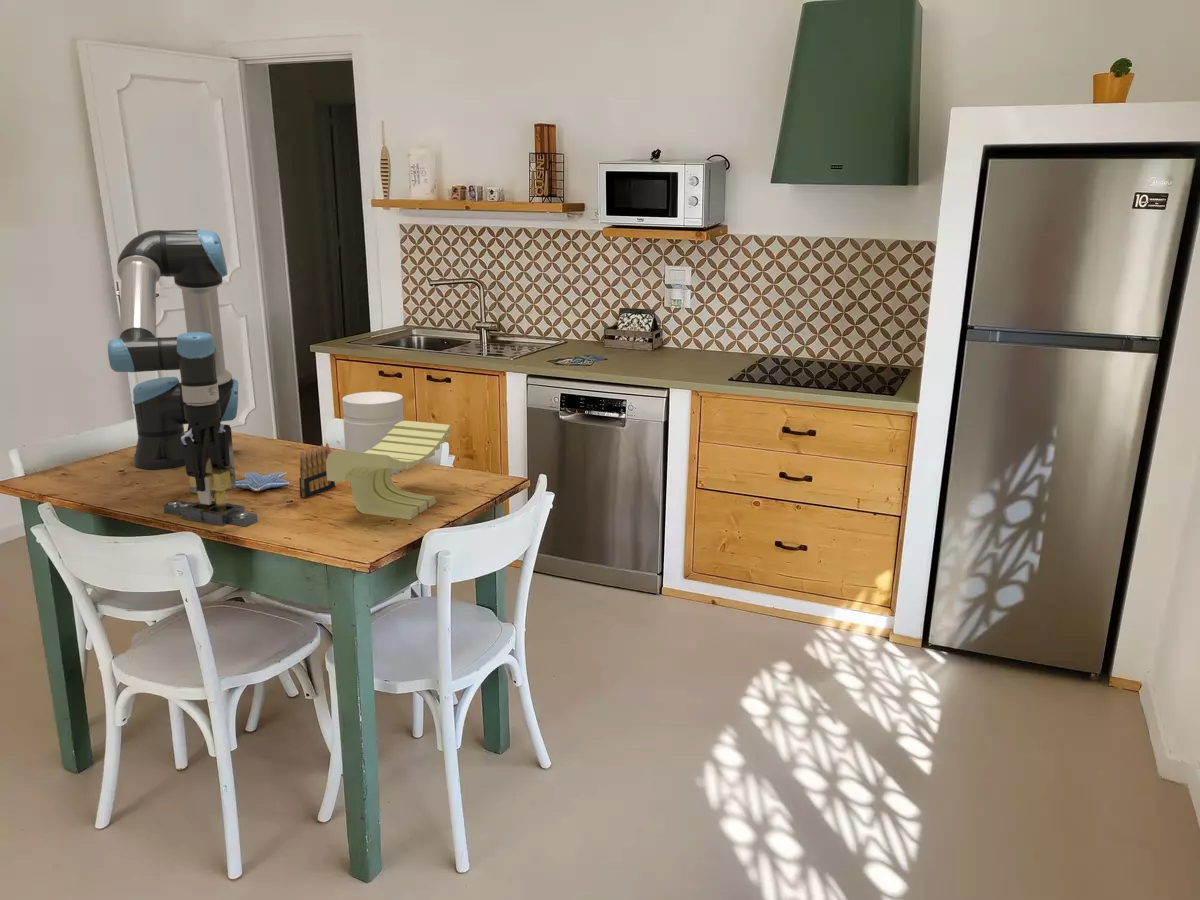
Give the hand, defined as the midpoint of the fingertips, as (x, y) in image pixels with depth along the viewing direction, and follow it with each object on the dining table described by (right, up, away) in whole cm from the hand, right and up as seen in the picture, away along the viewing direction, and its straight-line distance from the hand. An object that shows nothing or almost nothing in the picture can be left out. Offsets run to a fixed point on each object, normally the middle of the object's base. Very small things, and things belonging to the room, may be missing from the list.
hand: (212, 500), depth 209 cm
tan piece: (0, -3, +1) cm, 3 cm away
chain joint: (0, -4, +1) cm, 4 cm away
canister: (+28, +7, +41) cm, 50 cm away
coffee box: (-8, +1, +21) cm, 22 cm away
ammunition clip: (+18, +1, +20) cm, 27 cm away
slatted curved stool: (+40, -2, +10) cm, 41 cm away
